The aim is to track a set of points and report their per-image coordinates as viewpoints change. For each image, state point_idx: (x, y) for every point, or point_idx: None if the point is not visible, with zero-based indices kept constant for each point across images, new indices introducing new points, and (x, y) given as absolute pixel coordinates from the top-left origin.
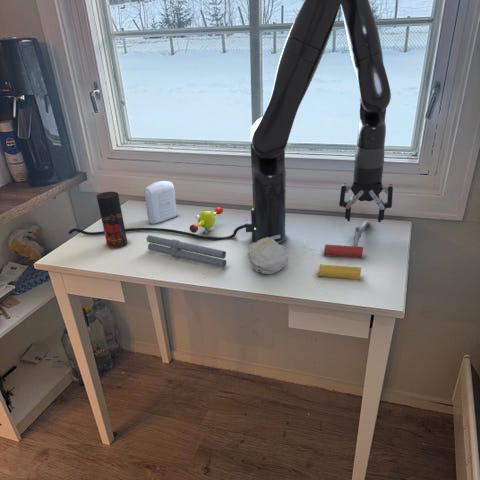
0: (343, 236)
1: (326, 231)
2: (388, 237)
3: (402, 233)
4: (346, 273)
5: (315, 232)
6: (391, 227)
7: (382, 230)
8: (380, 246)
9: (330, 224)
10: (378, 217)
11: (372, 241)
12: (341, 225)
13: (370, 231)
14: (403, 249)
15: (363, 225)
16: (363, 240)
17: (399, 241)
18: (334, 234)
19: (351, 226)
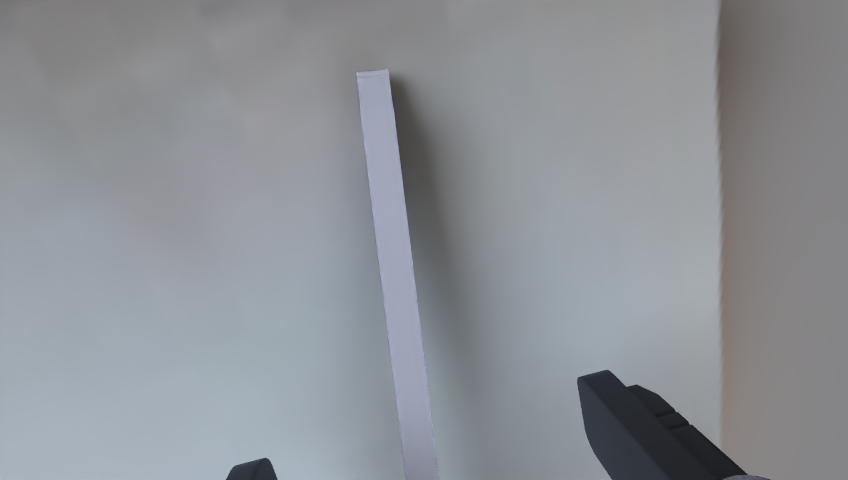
0: (283, 414)
1: (109, 381)
2: (606, 297)
3: (696, 180)
4: None
5: (32, 436)
6: (601, 82)
7: (540, 180)
8: (577, 459)
9: (60, 221)
10: (603, 436)
11: (510, 409)
12: (169, 205)
13: (453, 239)
14: (718, 440)
15: (414, 357)
16: (446, 419)
17: (686, 334)
18: (200, 409)
19: (265, 193)
